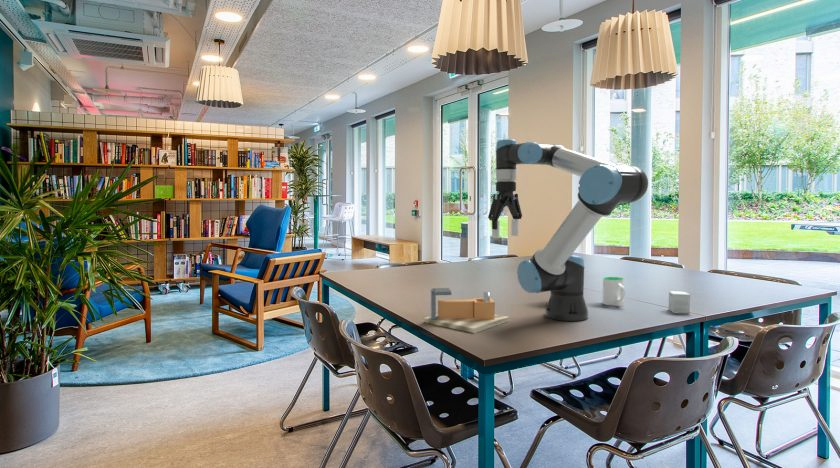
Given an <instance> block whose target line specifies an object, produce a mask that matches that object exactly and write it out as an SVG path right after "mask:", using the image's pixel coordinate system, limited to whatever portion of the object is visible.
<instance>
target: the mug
mask: <svg viewBox="0 0 840 468" xmlns="http://www.w3.org/2000/svg"><path fill="white" fill-rule="evenodd" d="M625 297H626V290H625V278H623V277H617V276H604V277H602V304H604V305H606V306H617V307H618V306H623V305H624V301H625Z"/></svg>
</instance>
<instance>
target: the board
mask: <svg viewBox="0 0 840 468" xmlns="http://www.w3.org/2000/svg"><path fill="white" fill-rule="evenodd" d="M425 322H426V323H425ZM507 322H510V317H509V316H506V315H500V314H496V313H495V319H474V317H473V318H449V319H439V318H438V313H436V320H431V315H430V316H427V317H426V316H425V317H424V318H423V323H425V324H429V323H430V324H431V325H435V326H440V327H443V328H444V327H445V328H450V329H452V330H453V329H454V330H458V331H463V332H466V333H471V334H472V333H473V334H477V333H479V332H482V331H484V330H488V329H491V328H493V327H496V326H499V325H502V324H504V323H505V324H506V323H507Z"/></svg>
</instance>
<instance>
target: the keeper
mask: <svg viewBox="0 0 840 468" xmlns="http://www.w3.org/2000/svg"><path fill="white" fill-rule="evenodd" d="M437 296H452V290H451V288H450V287H433V288H430V316H431V320H436V315H437V311H436V309H437V308H436V307H437V306H436V305H437V301H436V299H437Z"/></svg>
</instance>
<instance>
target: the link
mask: <svg viewBox="0 0 840 468" xmlns="http://www.w3.org/2000/svg"><path fill="white" fill-rule="evenodd" d="M495 303H496V302H495V300H494V299H493V298H491V297H490V302H484V297H481V298H480V297H479V298H477V297H476V298H474V297H473V298H469V299H468V298H467V299H437V314H438V318H439V319H449V318H473V317H474V319H495V314H496V312H495V310H496V309H495V307H496V305H495Z"/></svg>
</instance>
